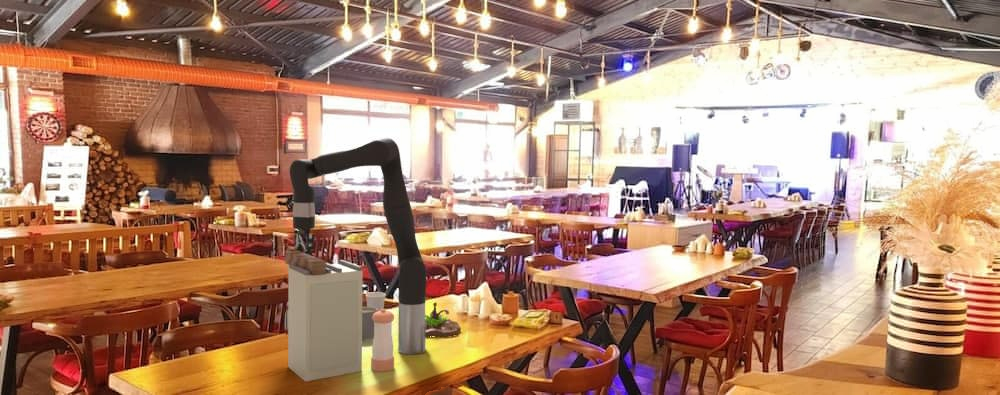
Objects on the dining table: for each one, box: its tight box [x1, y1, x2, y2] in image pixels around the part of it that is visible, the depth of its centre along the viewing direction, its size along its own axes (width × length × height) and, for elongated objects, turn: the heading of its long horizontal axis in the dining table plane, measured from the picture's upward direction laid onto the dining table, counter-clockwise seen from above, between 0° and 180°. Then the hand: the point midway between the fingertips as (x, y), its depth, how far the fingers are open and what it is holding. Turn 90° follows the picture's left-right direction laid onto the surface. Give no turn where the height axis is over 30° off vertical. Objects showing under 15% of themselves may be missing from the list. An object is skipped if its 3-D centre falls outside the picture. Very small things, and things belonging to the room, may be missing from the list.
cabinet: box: [287, 259, 364, 383], centre depth 203 cm, size 16×18×33 cm
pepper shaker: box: [370, 308, 395, 372], centre depth 206 cm, size 7×7×19 cm
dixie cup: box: [365, 291, 387, 311], centre depth 271 cm, size 8×8×10 cm
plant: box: [425, 302, 462, 338], centre depth 253 cm, size 20×20×11 cm
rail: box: [284, 249, 327, 276], centre depth 203 cm, size 26×4×4 cm, turn 36°
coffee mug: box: [362, 306, 378, 340], centre depth 245 cm, size 13×10×10 cm
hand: (303, 260), depth 231 cm, fingers open, 8 cm apart
